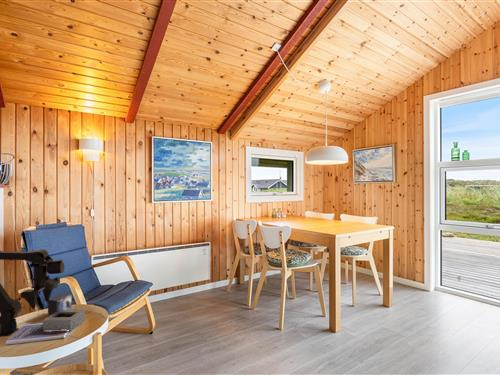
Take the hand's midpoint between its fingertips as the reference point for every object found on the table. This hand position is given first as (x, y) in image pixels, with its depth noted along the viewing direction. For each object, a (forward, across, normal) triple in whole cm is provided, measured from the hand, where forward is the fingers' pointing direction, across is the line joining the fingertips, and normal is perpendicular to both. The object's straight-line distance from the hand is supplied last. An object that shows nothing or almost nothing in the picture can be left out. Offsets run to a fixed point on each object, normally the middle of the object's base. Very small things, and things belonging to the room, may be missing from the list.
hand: (40, 305), depth 147 cm
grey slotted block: (+12, +2, -11) cm, 16 cm away
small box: (+12, +16, +1) cm, 20 cm away
